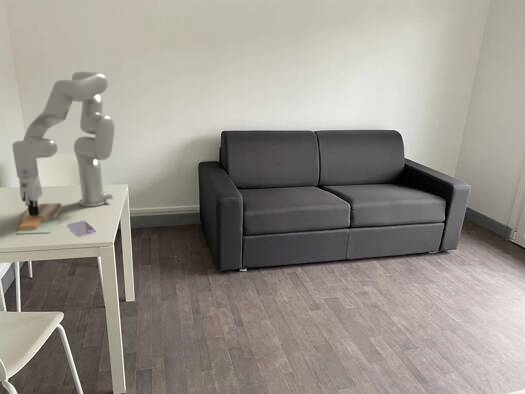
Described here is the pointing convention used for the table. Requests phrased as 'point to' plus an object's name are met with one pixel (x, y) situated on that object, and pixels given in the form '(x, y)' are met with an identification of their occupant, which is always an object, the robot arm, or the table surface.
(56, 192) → the table surface
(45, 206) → the plate
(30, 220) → the tile
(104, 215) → the table surface
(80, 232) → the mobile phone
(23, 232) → the mat
